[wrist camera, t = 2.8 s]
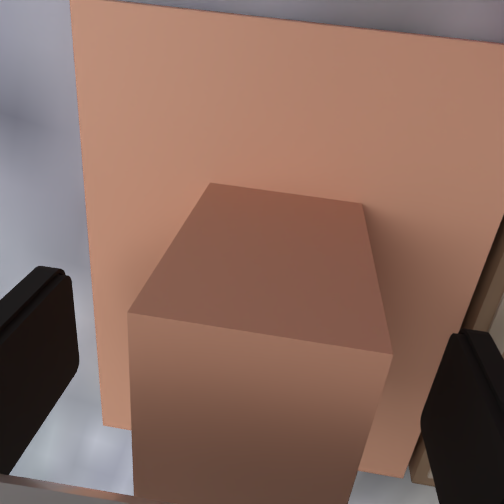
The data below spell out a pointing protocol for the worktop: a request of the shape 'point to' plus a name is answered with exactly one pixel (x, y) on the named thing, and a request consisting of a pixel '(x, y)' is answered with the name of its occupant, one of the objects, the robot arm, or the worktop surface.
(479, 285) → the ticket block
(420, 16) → the worktop surface
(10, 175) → the worktop surface
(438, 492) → the robot arm
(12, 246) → the worktop surface
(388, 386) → the stub
